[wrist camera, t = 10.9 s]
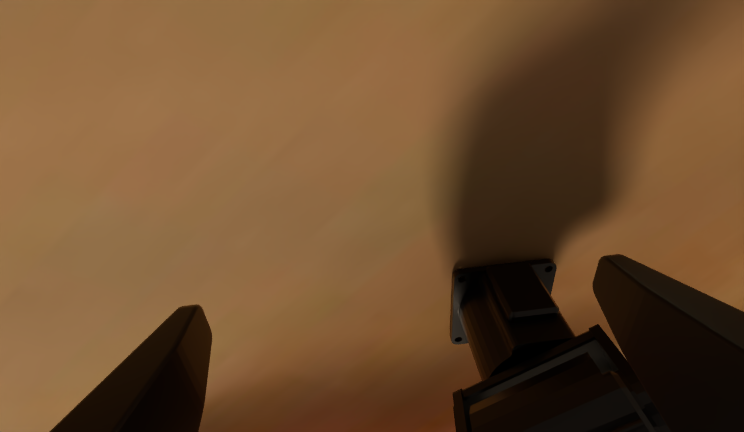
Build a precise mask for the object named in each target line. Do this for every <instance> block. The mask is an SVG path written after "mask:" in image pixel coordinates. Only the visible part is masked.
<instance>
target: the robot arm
mask: <svg viewBox="0 0 744 432" xmlns="http://www.w3.org/2000/svg"><path fill="white" fill-rule="evenodd" d="M547 266H549V267H547ZM546 267H547V268H546ZM555 273H556V265H555V263H554V262H553V261H552V260H551V259H542V260H533V261H525V262H517V263H508V264H500V265H491V266H483V267H474V268H466V269H459V270H457V271H455V272H454V273H453V277H452V300H451V324H450V338H451V341H452V343H453V344H465V343H469V346H470V348H471V351H472V354H473V357H474V359H475V362H476V365H477V368H478V371H479V373H480V376H481V379H482V381H481V382H479V383H476V384H474V385H472V386H470V387H468V388H466V389H464V390H462V389H460V390H458V391H456V392H453V400H454V407H453V409H454V418H455V426H456V432H744V312H743V311H741V310H739V309H736V308H734V307H732V306H730V305H728V304H726V303H724V302H722V301H719V300H717V299H715V298H713V297H711V296H709V295H707V294H705V293H702V292H700V291H698V290H696V289H694V288H692V287H690V286H688V285H685V284H683V283H681V282H679V281H677V280H675V279H673V278H670V277H668V276H666V275H664V274H662V273H660V272H658V271H656V270H653V269H651V268H649V267H647V266H645V265H643V264H641V263H639V262H636V261H634V260H632V259H630V258H628V257H626V256H624V255H620V254H616V255H607V256H603V257H601V259H600V260H599V263H598V266H597V270H596V273H595V277H594V280H593V291H594V294H595V296H596V298H597V301H598V303H599V305H600V307H601V309H602V311H603V313H604V315H605V317H606V319H607V322H608V324H609V326H610V328H611V330H612V332H613V334H614V336H615V338H616V340H617V342H618V344H619V346H620V348H621V350H622V352H623V354H624V356H625V357H626V359H627V360H626V359H625V357H624V356H623V355H622V354H621V352H620V351H619V350H618V348H617V347H616V346H615V345H614V343H613V342H612V341H611V340H610V338H609V337H608V336H607V335H606V333H605V332H604V331H603V330H602V328H601V327H600V326H599V324H597V325H595V326H593V327H591V328H589V331H587V332H584V333H582V334H580V335H578V336H575V335H574V333H573V331H572V330H571V328H570V327H569V325H568V324H567V322H566V321H565V319H564V317H563V316H562V314H561V313H560V311H559V308H558V306H557V304H556V303H555V301H554V300H553V298H552V297H551V291H552V286H553V282H554V277H555ZM461 276H464V277H462V278H459V277H461ZM211 344H212V333H211V329H210V326H209V324H208V321H207V319H206V316H205V314H204V311H203V309H202V307H201V306H200V305H188V306H182V307H179V308H178V309H177V310H176V311H175V312H174V313H173V314H172V315H170V316H169V317H168V318H167V319H166V320H165V321H164V322H163V323H162V324H161V325H160V326H159V327H158V328H157V329H156V330H155V331H154V332H153V333H152V334H151V335H150V336H149V337H148V338H147V339H146V340H144V341H143V342H142V343H141V344H140V345H139V346H138V347H137V348H136V349H135V350H134V351H133V352H132V353H131V354H130V355H129V356H128V357H127V358H126V359H125V360H124V361H123V362H122V363H121V364H120V365H118V366H117V367H116V368H115V369H114V370H113V371H112V372H111V373H110V374H109V375H108V376H107V377H106V378H105V379H104V380H103V381H102V382H101V383H100V384H99V385H98V386H97V387H96V388H95V389H94V390H92V391H91V392H90V393H89V394H88V395H87V396H86V397H85V398H84V399H83V400H82V401H81V402H80V403H79V404H78V405H77V406H76V407H75V408H74V409H73V410H72V411H71V412H70V413H69V414H68V415H66V416H65V417H64V418H63V419H62V420H61V421H60V422H59V423H58V424H57V425H56V426H55V427H54V428H53V429H52V430H51V431H50V432H198V430H199V426H200V422H201V418H202V413H203V408H204V402H205V395H206V386H207V378H208V369H209V361H210V353H211Z"/></svg>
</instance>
